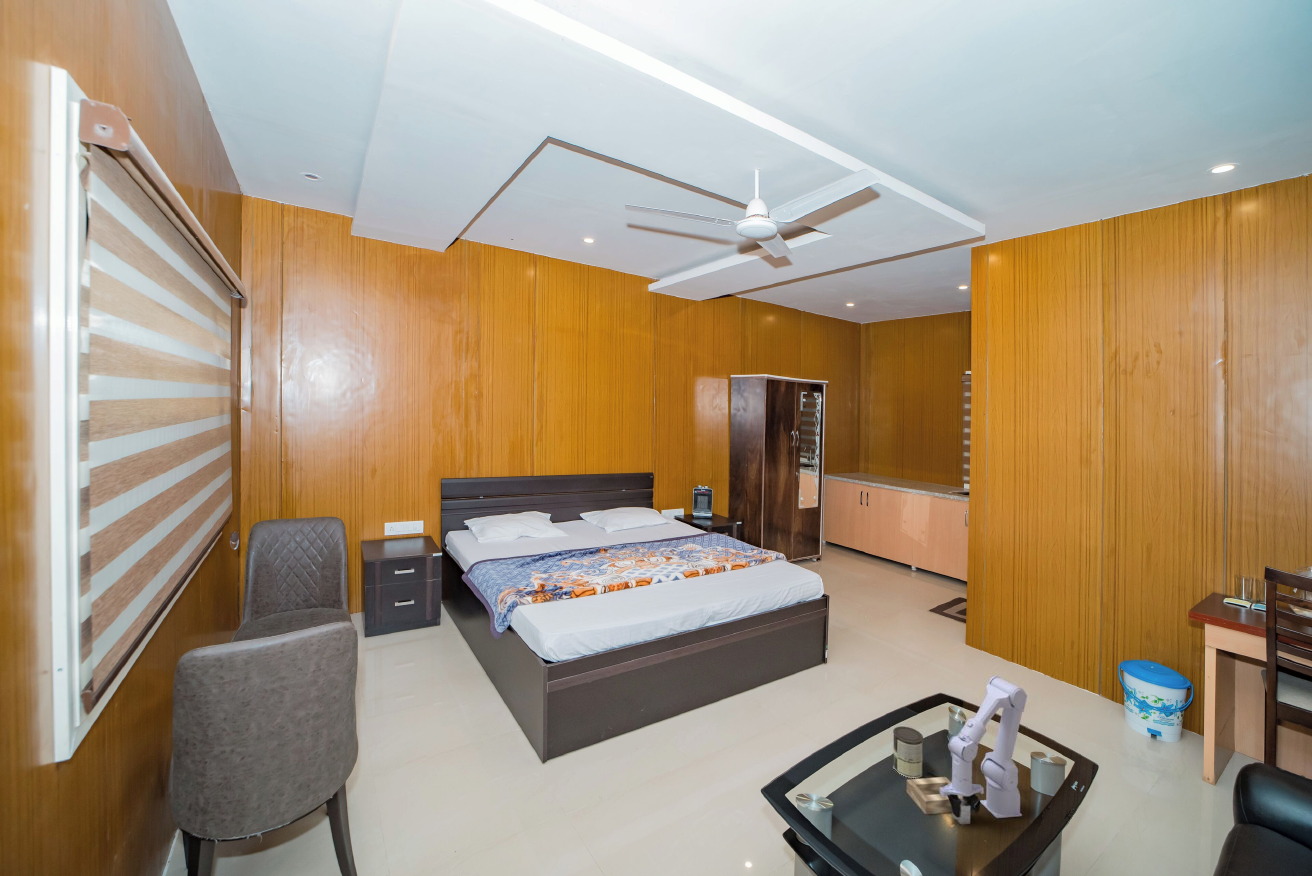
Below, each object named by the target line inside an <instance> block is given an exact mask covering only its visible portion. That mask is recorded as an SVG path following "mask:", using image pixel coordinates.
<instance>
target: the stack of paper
mask: <svg viewBox="0 0 1312 876" xmlns="http://www.w3.org/2000/svg"><path fill="white" fill-rule="evenodd" d="M959 799H960V800H961V801H962V802H961V805H960V810H959V817H956V816H955V815H954V814H953V813H952V817H953V818H954V819H955V820H956V821H957V822H958V824H960V825H968V824H969V825H970V824H971V814H970V805H969V804H968V803H967V799H966V798H962V797H961V798H959Z"/></svg>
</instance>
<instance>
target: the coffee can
mask: <svg viewBox="0 0 1312 876" xmlns="http://www.w3.org/2000/svg"><path fill="white" fill-rule="evenodd" d="M892 731H893V759H892V760H893V763H892V764H893V765H892V768H893V770H894V769H895V770H896V771H897V772H898V773H899V774H898V773H897V772H896V771H895V770H894V771H895V772H896V773H897V774H898V775H900V774H901V775H900V776H902V775H903V776H902V777H904V776H905V778H907V777H908V778H907V779H912V778H913V779H914V778H915V779H920V778H921V777H922V776H923V742H924V737H923V734H922V733H921V732H920V731H918V730H917V729H915V728H912V727H909V726H896V727H895V728H894V729H893V730H892Z"/></svg>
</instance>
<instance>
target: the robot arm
mask: <svg viewBox="0 0 1312 876" xmlns="http://www.w3.org/2000/svg"><path fill="white" fill-rule="evenodd" d="M985 691H986V695H985V697H984V699H983V701H982V703H981V705H980V707H979V708H978V710H977V712H976V714H975V716H974V717H970V718H968V719H967V721H966V722H965V724H964V726H962V728H961V730H959V732H958V734H957V735H954V736H952V737H951V738H950V739H949V742H948V744H947V746H948V747H947V748H948V750H949V751H950V756H951V758H952V759H951V761H952V762H951V763H952V765H951V766H952V768H951V784H949V785H946V786H944V787H940V794H941V795H942V796H943V797H946V795H947V796H948V798H949V801H950V804H951V807H952V811H953V812H952V815H953V814H954V815H955V816H956V817H959V810H960V805H961V802H962V801H961V800H960V799H959V797H958V795H961V796H963V798H966V799H967V803H968V804H969V805H970V815H971V813H972V812H973V809H974V806H975V805H976V804H977V803H978V802H979V801H980V803H981V805H983V807H984V808H985V809H987V810H988V812H990V813H991V814H992V815H993V817H995V819H1003V818H1004V819H1005V818H1012V817H1013V818H1014V817H1016V818H1017V817H1022V816H1023V814H1022V813H1021V794H1020V791H1019V788H1018V783H1019V776H1018V774H1019V769H1018V767H1017V766H1016V764H1015V762H1014V761H1013V756H1014V755H1013V754H1014V752H1015V745H1016V741H1017V737H1018V732H1019V728H1020V723H1021V720H1022V714H1023V713H1024V711H1025V707H1026V703H1027V697H1028V695H1027V693H1026V691H1025V690H1024V689H1023V688H1022V687H1020V686H1017V685H1015V684H1013V683H1011V682H1009V681H1007V680H1005V679H1004V678H1002V677H999V676H998V675H994V676H992V677H991V678H990V679H989V680H988V682H987V685H986V686H985ZM1001 708H1002V712H1001V716H1000V721H999V726H998V729H997V735H996V738H995V743H994V747H993V751H989V752H986V753H985V756H984V758H983V760H982V761H981V764H980V771H981V773H982V775H984V778H985V779H984V780H986V792H985V791H984V789H985V788H984V787H983V786H982V785H981V784H975V783H973V782H972V781H973V760H975V758H976V757H977V754H978V749H979V746H978V745H979V744H980V742H981V740H982V739H983V737H984V736H985V734H986V733H987V728H986V725H987V724H988V723H989V722H990V720H991V719H992V718H993V717H994V715H995V714H996V713H997V712H998V710H999V709H1001ZM984 793H986V796H985V797H986V799H984V800H983V799H982V800H979V796H977V795H976V794H981V795H983V794H984Z"/></svg>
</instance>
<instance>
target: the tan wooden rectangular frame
mask: <svg viewBox="0 0 1312 876" xmlns="http://www.w3.org/2000/svg"><path fill="white" fill-rule="evenodd" d="M951 783H952V781H951V780H949V778H947V777H946V776H940V777H937V776H936V777H927V778H924V777H923V778H915V779H912V778H909V779H906V793H907V794H908V796H909V797H910V798H911V799H912V800H913V802H914V803H915V804H916V805H917V806H918V807H919V809H920V810H921V811H922V812H923V813H924V814H925V815H934V814H944V813H945V814H946V813H953V811H952V807H951V804H950V801H949V798H948V796H947V795H946V797H943V796H942V795H941V794H940V787H944V786H946V785H949V784H951ZM958 797H959V798H961V797H962V798H963V796H961V795H958Z"/></svg>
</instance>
